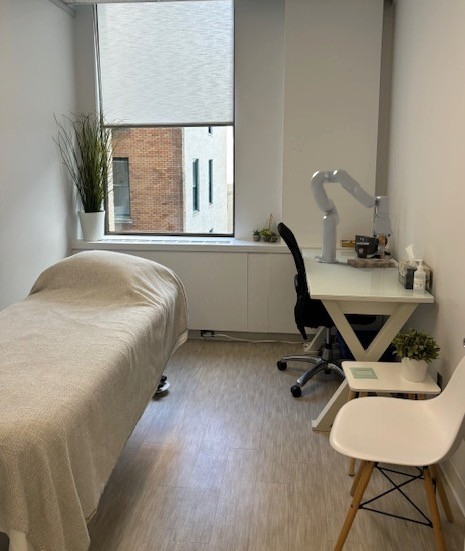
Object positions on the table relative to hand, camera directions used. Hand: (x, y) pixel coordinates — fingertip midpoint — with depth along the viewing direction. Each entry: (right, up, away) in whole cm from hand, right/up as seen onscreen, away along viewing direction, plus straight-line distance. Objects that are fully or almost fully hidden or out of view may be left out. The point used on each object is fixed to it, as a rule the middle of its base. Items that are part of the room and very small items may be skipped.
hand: (381, 244), depth 342 cm
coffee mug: (-4, -8, +30) cm, 31 cm away
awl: (0, -6, +1) cm, 6 cm away
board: (-6, -13, +2) cm, 15 cm away
